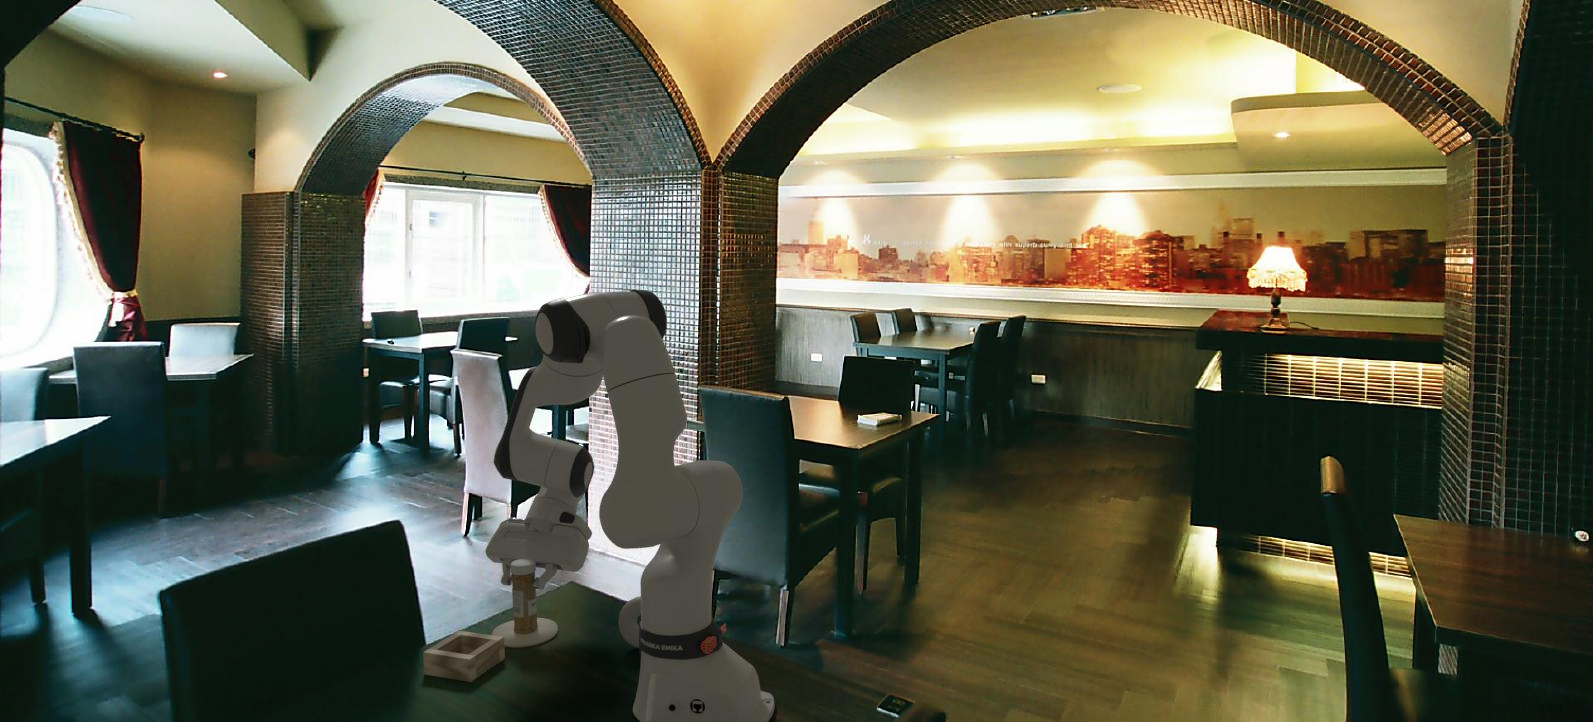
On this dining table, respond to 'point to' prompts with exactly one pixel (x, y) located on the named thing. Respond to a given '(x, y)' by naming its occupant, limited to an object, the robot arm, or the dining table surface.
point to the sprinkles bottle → (524, 596)
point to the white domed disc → (513, 639)
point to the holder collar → (464, 656)
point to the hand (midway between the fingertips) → (521, 586)
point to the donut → (630, 621)
